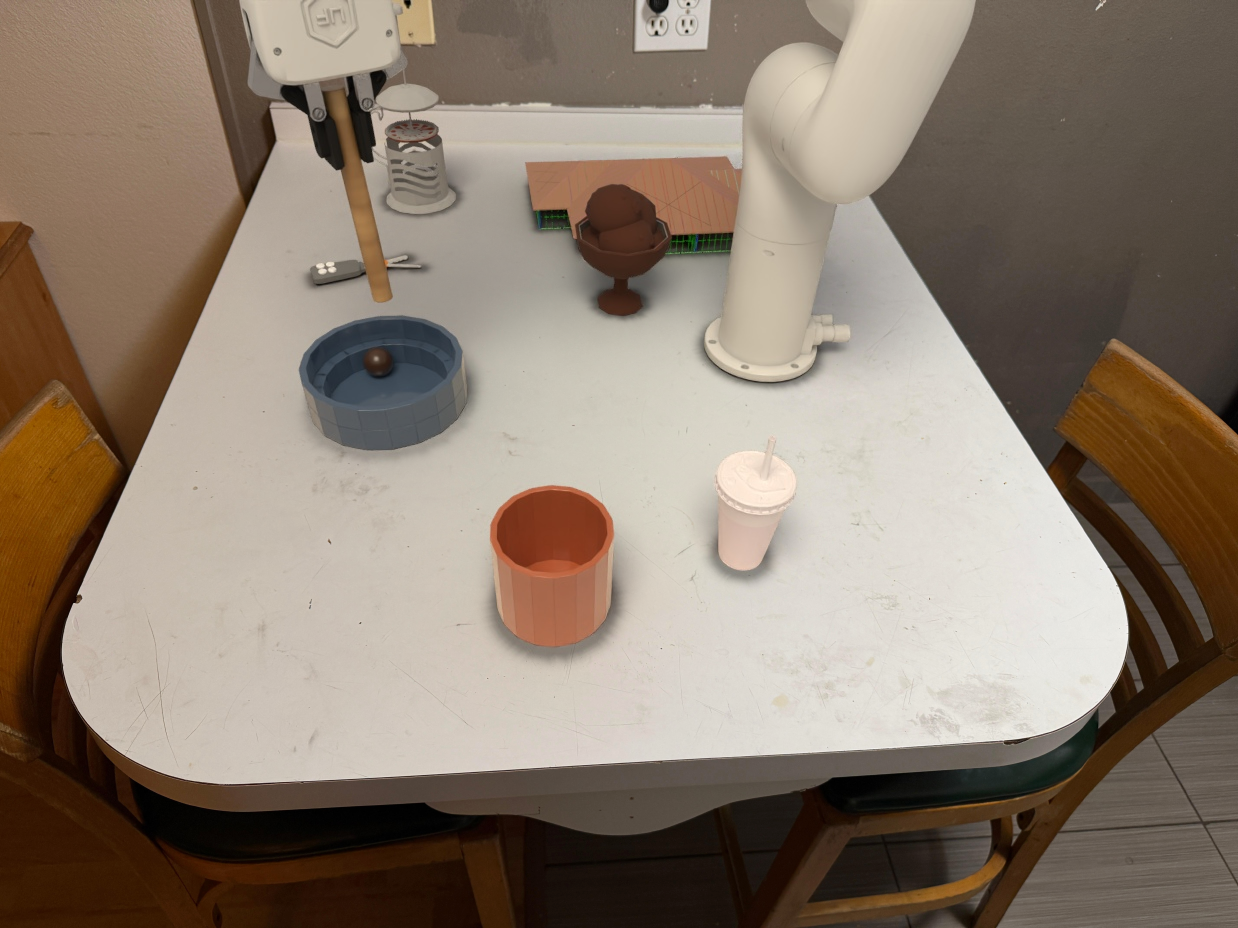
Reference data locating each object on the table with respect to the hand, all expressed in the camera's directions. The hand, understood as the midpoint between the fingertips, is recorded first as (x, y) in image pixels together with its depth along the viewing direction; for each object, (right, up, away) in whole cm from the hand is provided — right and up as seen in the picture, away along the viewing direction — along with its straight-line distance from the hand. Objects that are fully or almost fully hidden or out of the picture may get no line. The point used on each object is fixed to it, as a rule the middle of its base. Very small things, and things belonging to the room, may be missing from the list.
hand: (348, 159), depth 67 cm
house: (+26, +10, +48) cm, 56 cm away
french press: (-7, +13, +50) cm, 52 cm away
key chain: (-9, -1, +35) cm, 36 cm away
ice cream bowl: (+22, -6, +32) cm, 39 cm away
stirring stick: (+1, -10, +8) cm, 13 cm away
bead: (-2, -14, +17) cm, 22 cm away
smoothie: (+32, -33, +4) cm, 47 cm away
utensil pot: (+17, -36, -1) cm, 40 cm away
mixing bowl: (-1, -19, +17) cm, 25 cm away
